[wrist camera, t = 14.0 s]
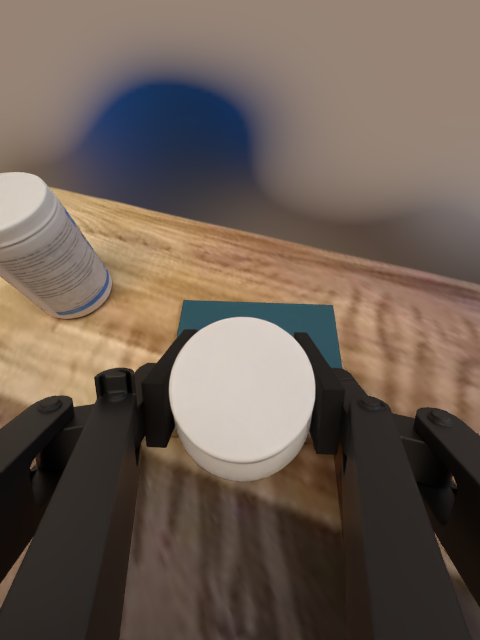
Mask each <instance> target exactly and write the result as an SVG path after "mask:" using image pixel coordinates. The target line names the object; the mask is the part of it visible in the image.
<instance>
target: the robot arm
mask: <svg viewBox="0 0 480 640" xmlns="http://www.w3.org/2000/svg"><path fill="white" fill-rule="evenodd" d="M196 333H197V329H184V330H183V331H182V333H181V334H180V335H179V336H178V337H177V339H176V340H175V341H174V342H173V344H172V345H171V346H170V347H169V349H168V350H167V351H166V352H165V354H164V355H163V356H162V357H161V359H160V360H159V361H158V362H157V363H147V364H145V365H143V366H141V367H139V368H138V370H137V371H136V372H135V374H134V371H133V370H131V369H128V368H114V369H109V370H106V371H103V372H101V373H99V374H97V375H96V376H95V377H94V379H95V386H96V394H97V400H96V402H95V404H91V405H85V406H78V407H73V401H72V398H70V397H69V396H51V397H47V398H44V399H43V400H40V401H38V402H36V403H34V404H33V405H31V406H30V407H28V408H27V409H26V410H24V411H23V412H22V413H21V414H19V415H18V416H17V417H15V418H14V419H13V420H12V421H10V422H9V423H8V424H6V425H5V426H4V427H2V428H1V429H0V583H1V582H2V580H3V579H4V578H5V576H6V575H7V573H8V572H9V570H10V569H11V568H12V566H13V565H14V563H15V562H16V560H17V559H18V558H19V556H20V555H21V553H22V552H23V550H24V549H25V548H26V546H27V545H28V543H29V542H30V540H31V539H32V538H33V539H32V541H31V544H30V546H29V548H28V550H27V552H26V554H25V557H24V559H23V561H22V563H21V565H20V567H19V570H18V572H17V574H16V576H15V578H14V581H13V583H12V585H11V587H10V589H9V591H8V594H7V596H6V598H5V600H4V602H3V604H2V607H1V609H0V640H119V634H120V626H121V618H122V610H123V602H124V594H125V585H126V577H127V569H128V561H129V553H130V545H131V537H132V528H133V520H134V512H135V504H136V496H137V488H138V479H139V471H140V463H141V455H142V452H141V442H142V440H143V438H144V436H145V435H146V445H147V447H162V448H166V447H167V444H168V442H169V440H170V437H171V435H172V433H173V430H174V428H175V421H174V415H173V412H172V409H171V405H170V398H169V382H170V376H171V371H172V367H173V365H174V363H175V360H176V358H177V356H178V354H179V352H180V351H181V349H182V348H183V346H184V345H185V344H186V343H187V341H188V340H189V339H190V338H191V337H192V336H193V335H194V334H196ZM294 339H295V340H296V341H297V342H298V343H299V344H300V346H301V347H302V348H303V350H304V351H305V353H306V355H307V357H308V359H309V361H310V363H311V366H312V369H313V373H314V378H315V402H314V407H313V411H312V419H311V425H310V429H309V432H310V435H311V438H312V441H313V444H314V447H315V450H316V453H317V454H333V455H337V450H338V443H340V445H341V448H342V450H343V452H342V459H341V466H340V473H339V479H341V480H342V502H343V532H344V562H345V592H346V622H347V640H472V639H471V636H470V634H469V631H468V628H467V625H466V622H465V619H464V617H463V614H462V611H461V608H460V605H459V602H458V600H457V597H456V594H455V591H454V588H453V585H452V583H451V580H450V577H449V574H448V571H447V568H446V565H445V563H444V560H443V557H442V554H441V551H440V548H439V546H438V543H437V540H436V537H435V534H436V535H437V537H438V539H439V540H440V542H441V544H442V545H443V547H444V549H445V550H446V552H447V554H448V555H449V557H450V559H451V560H452V562H453V564H454V565H455V567H456V569H457V570H458V572H459V574H460V575H461V577H462V579H463V580H464V582H465V584H466V585H467V587H468V589H469V590H470V592H471V594H472V595H473V597H474V599H475V601H476V602H477V604H478V606H479V607H480V436H479V435H478V434H476V433H475V432H474V431H473V430H472V429H471V428H470V427H468V426H467V425H466V424H465V423H464V422H463V421H462V420H460V419H459V418H457V417H456V416H454V415H452V414H450V413H448V412H447V411H444V410H440V409H437V408H429V407H427V408H420V409H418V410H417V413H416V417H415V418H410V417H406V416H401V415H397V414H393V413H392V412H391V409H390V408H389V406H388V405H387V404H386V403H385V402H383V401H382V400H379V399H377V398H375V397H371V396H368V395H367V394H366V393H365V392H364V390H363V389H362V388H361V386H360V385H358V383H357V381H356V380H354V378H353V376H352V375H351V374H350V373H349V372H347V371H345V370H344V369H342V368H331V367H330V366H329V364H328V363H327V361H326V360H325V358H324V357H323V355H322V354H321V352H320V351H319V349H318V348H317V346H316V345H315V343H314V342H313V340H312V339H311V338H310V336H309V335H308V333H306V332H294ZM35 457H36V462H37V464H36V465H35V466H34V467H33V468H32V469H30V466H31V463H32V461H33V460H34V458H35ZM453 476H454V478H455V481H456V484H457V486H456V485H455V483H454V482H453V481H452V477H453ZM433 530H434V531H433ZM434 532H435V534H434ZM33 536H34V537H33Z"/></svg>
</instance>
